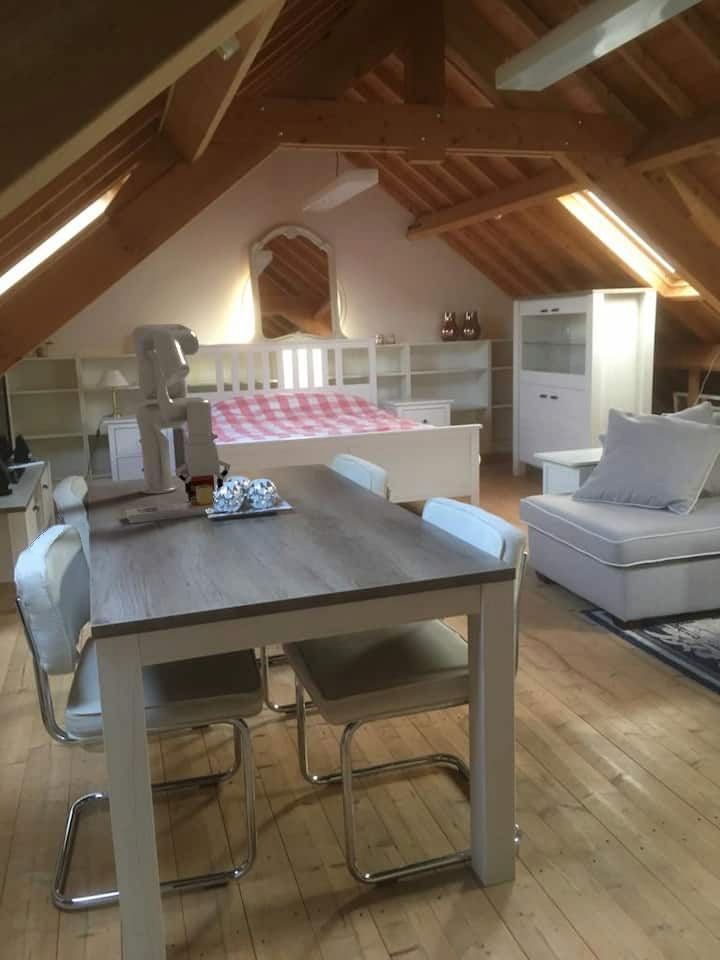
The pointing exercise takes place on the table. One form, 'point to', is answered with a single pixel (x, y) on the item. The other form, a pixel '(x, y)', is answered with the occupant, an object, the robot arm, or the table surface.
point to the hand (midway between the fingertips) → (204, 493)
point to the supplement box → (200, 484)
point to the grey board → (166, 512)
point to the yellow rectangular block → (204, 495)
